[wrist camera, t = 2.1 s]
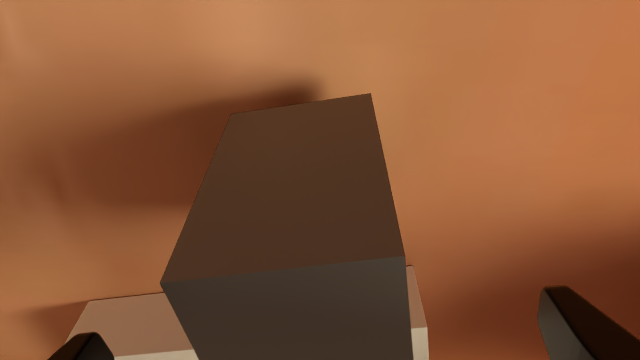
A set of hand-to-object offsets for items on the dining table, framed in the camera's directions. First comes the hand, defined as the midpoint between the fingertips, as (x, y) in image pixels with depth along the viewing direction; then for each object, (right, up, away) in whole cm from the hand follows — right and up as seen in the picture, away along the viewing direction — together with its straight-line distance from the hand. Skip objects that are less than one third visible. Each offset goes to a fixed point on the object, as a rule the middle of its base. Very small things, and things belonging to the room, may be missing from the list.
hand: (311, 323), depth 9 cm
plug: (0, +4, +6) cm, 7 cm away
